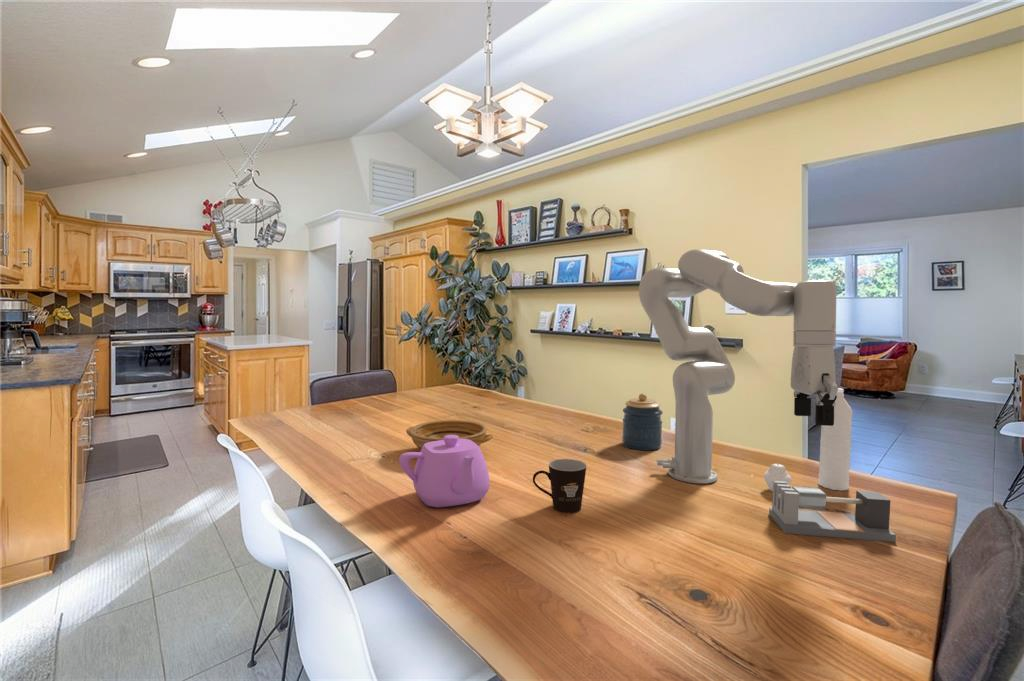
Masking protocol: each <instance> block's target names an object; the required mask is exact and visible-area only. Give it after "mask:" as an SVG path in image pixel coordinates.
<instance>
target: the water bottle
mask: <svg viewBox="0 0 1024 681" xmlns="http://www.w3.org/2000/svg"><path fill="white" fill-rule="evenodd" d="M844 392H845V389H844V388H841V387H838V391H837V395H836V396H837V398H836V400H835V403H836V404H835V406H834V425H833V426H824V425H820V426H821V427H820V429H821V430H820V441H819V443H820V446H819V452H820V453H819V462H818V465H819V467H818V468H819V469H818V485H820V486H821V487H823V488H825V489H829V490H833V491H840V492H841V491H847V490H849V489H850V468H851V465H850V464H851V447H852V440H851V439H852V427H853V426H852V425H853V421H852V420H853V410H852V406H850V404H848V402H847V400H846V399H845V397H844V396H845V394H844Z"/></svg>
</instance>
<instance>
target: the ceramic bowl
mask: <svg viewBox="0 0 1024 681" xmlns="http://www.w3.org/2000/svg"><path fill="white" fill-rule="evenodd" d="M487 431H488V427H487V426H486V425H485V424H482V423H480V422H476V421H470V420H464V419H463V420H461V419H444V420H442V419H441V420H434V421H433V420H432V421H428V422H423V423H420V424H417V425H415V426H410V427H408V428H407V429H406V434H407V435H408V436H409V437H410V438H411V440H412V443H413V444H414V445H415V446H416V447H417V448H418V449H420V450H421V449H422V447H423V445H424V444H425V443H428V442H433V441H439V440H444V439H443V437H444V436H446V435H457V436H459V438H458V439H469V440H471V441H473V442H474V443H475V444H477V445H478V446H479V447H480V446H481V444H484V443H488V442H490V441H491V440H492V439H493V438H494V435H493V434H492V433H490V434H487ZM486 434H487V435H486Z"/></svg>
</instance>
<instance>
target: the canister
mask: <svg viewBox="0 0 1024 681" xmlns="http://www.w3.org/2000/svg"><path fill="white" fill-rule="evenodd" d="M624 405H626V406H625V407H624V408H623V409H622V413H623V418H622V437H621V440H622V445H623V446H624V447H626V448H629V449H632V450H637V451H655V450H656V451H657V450H659V449H661V448H662V444H663V439H662V436H663V434H662V432H663V431H662V429H663V427H662V426H663V420H662V415H663V413H664V412H663V410H661V409H660V407H661V404H660V403H659V402H657V401H656V400H655V399H651V398H648V397H647V395H646V394H645V393H640V394H639V395H638V397H636V398H631V399H629V400H628V401H626V402H625V404H624Z"/></svg>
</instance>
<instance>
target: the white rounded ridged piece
mask: <svg viewBox="0 0 1024 681" xmlns="http://www.w3.org/2000/svg"><path fill="white" fill-rule="evenodd" d="M763 478H764V481H765V483H766V485H767V487H768V488H769V489H768V490H769V491H771V492H773V481H784V482H786V483H787V485H790V486H791V483H792V480H793V479H792V476H791V475H790V474H789V472H788V471H787V467H785V465H783V464H780V463H772V464H771V465H769V468H768V470H766V471H765V472H764V473H763Z"/></svg>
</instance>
